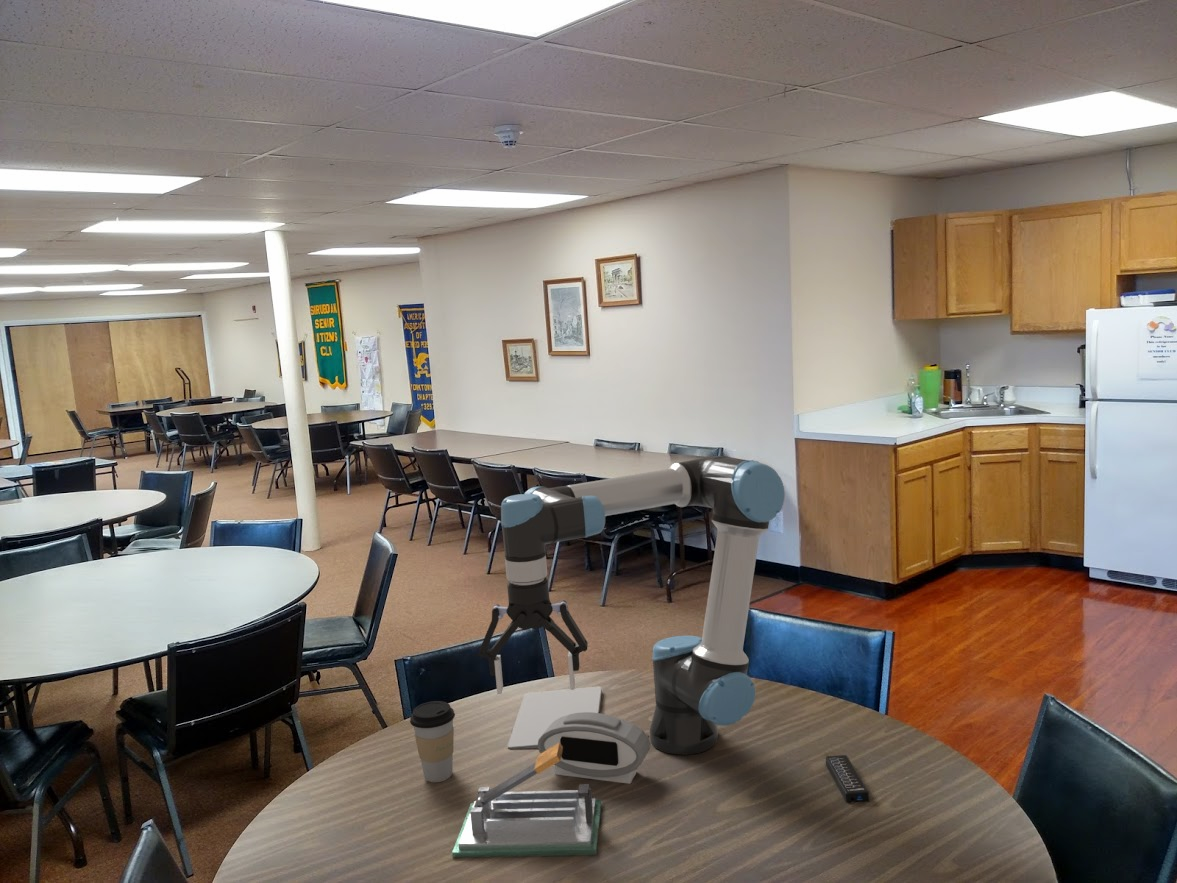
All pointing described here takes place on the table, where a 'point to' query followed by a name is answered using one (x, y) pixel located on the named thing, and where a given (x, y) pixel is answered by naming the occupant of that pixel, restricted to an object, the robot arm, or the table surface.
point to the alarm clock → (596, 746)
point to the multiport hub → (847, 779)
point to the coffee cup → (434, 739)
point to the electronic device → (550, 712)
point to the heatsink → (531, 825)
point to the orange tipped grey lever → (522, 775)
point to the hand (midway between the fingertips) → (536, 689)
